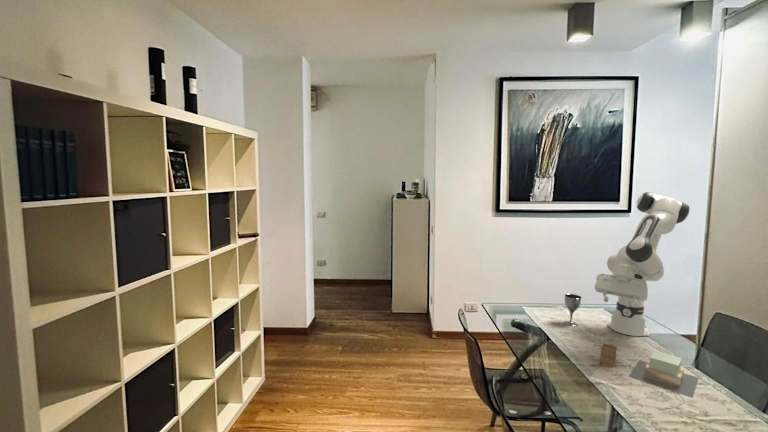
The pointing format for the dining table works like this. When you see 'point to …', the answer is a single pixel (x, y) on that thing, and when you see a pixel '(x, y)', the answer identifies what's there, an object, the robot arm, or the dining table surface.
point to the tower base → (664, 376)
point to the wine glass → (572, 306)
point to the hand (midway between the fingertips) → (617, 303)
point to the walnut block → (608, 355)
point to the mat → (685, 387)
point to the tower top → (665, 362)
